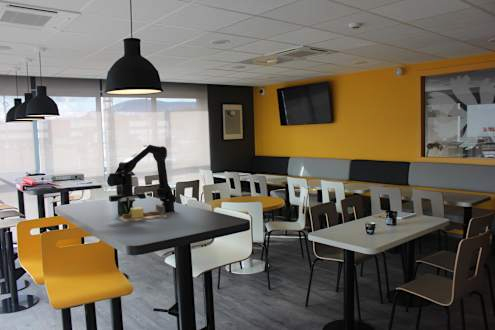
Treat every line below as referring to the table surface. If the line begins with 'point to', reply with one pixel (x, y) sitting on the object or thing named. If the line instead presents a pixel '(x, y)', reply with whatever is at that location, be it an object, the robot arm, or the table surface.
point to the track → (146, 215)
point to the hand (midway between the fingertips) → (128, 212)
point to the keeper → (136, 212)
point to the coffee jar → (122, 205)
